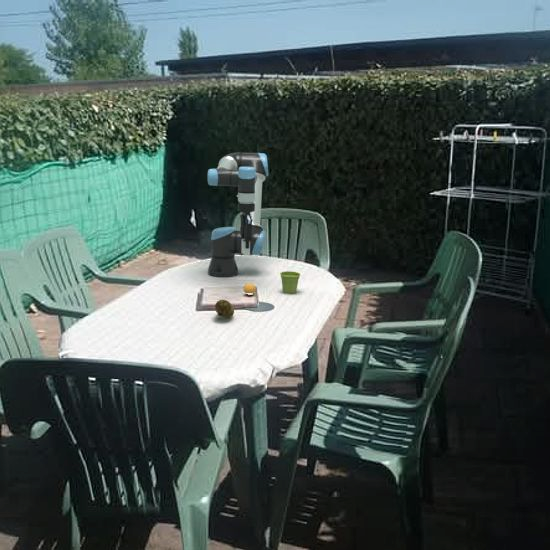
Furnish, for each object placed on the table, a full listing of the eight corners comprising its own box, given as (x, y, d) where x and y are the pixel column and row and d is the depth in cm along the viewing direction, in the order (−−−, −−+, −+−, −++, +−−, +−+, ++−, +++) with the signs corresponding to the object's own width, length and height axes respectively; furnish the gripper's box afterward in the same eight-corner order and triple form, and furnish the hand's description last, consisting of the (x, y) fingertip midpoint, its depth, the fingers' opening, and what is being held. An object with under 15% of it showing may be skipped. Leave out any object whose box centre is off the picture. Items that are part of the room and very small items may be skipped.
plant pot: (300, 290, 271) (301, 271, 269) (299, 295, 262) (300, 276, 260) (280, 288, 272) (280, 270, 269) (278, 294, 263) (279, 275, 260)
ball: (241, 294, 261) (241, 282, 259) (252, 293, 263) (252, 281, 262) (247, 297, 256) (247, 285, 255) (258, 296, 259) (258, 284, 257)
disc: (237, 304, 246) (237, 304, 246) (264, 300, 253) (264, 300, 253) (252, 313, 235) (252, 312, 235) (280, 309, 242) (280, 308, 242)
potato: (241, 314, 234) (241, 295, 232) (227, 324, 222) (227, 303, 220) (222, 311, 237) (222, 292, 235) (208, 321, 225) (208, 301, 223)
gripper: (234, 200, 266) (233, 250, 271) (242, 205, 250) (241, 258, 256) (250, 199, 268) (249, 250, 273) (259, 204, 252) (258, 258, 258)
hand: (245, 254), depth 265 cm, fingers open, 4 cm apart
